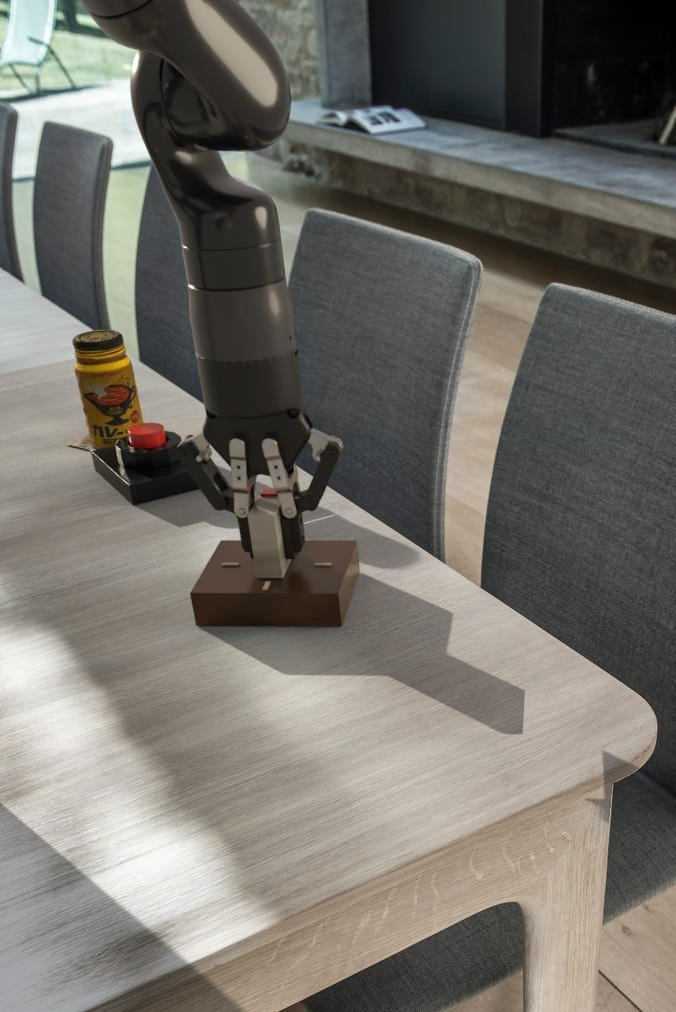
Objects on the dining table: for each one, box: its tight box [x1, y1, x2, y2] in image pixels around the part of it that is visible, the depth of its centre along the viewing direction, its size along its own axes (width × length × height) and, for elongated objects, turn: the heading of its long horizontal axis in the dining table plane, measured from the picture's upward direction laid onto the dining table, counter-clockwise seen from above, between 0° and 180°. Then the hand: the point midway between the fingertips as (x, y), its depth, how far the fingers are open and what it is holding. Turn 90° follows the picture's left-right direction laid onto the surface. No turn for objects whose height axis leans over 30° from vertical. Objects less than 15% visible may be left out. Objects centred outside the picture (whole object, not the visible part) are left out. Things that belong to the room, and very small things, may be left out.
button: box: [128, 422, 167, 448], centre depth 118 cm, size 4×4×2 cm
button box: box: [90, 430, 200, 506], centre depth 120 cm, size 12×9×4 cm
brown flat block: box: [189, 539, 361, 627], centre depth 96 cm, size 12×10×3 cm
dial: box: [248, 488, 292, 578], centre depth 94 cm, size 5×2×6 cm, turn 176°
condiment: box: [64, 329, 144, 452], centre depth 127 cm, size 7×8×12 cm
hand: (275, 554), depth 95 cm, fingers closed
